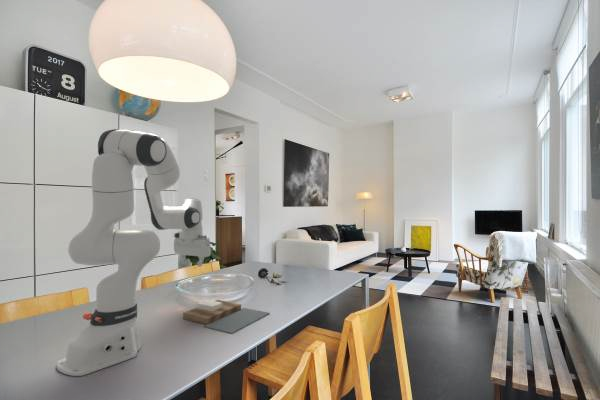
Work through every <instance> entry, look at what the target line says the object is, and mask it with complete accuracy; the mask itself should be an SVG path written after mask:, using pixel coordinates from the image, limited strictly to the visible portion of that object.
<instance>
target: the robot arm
mask: <svg viewBox="0 0 600 400" xmlns="http://www.w3.org/2000/svg"><path fill="white" fill-rule="evenodd" d="M97 154H98V155H97V156H96V157H95V158H94V161H93V165H92V173H91V174H92V175H91V192H92V213H91V217H90V219H89V222H88V223H87V225H86V226H85V227H84V228H83V229H81V231H80V232H78V233H77V234H75V235H74V236H73V237H72V238H71V240H70V242H69V244H68V250H67V252H68V255H69V258H70V259H71V260H72V261H73V262H74V264H76V265H84V266H85V265H86V266H104V265H105V266H106V265H107V266H108V265H118V268H117V271H116V272H113V273H111V274H110V275H108V276H106V277H105V278H102V279H101V280H100V281H99V282H98V284H97V285H96V302H95V303H96V306H95V307H96V309H95V310H94V312H93V313H90V312H84V314H83V315H82V319H83V320H86V321H89V324H88V325H87V326H86V327H85V328H84V329H82V331H80V332H79V333H78V334H77V335H76V336H75V337H74V338H73V339H72V340H71V341H69V343H68V345H67V350H66V355H65V357H63V358H61V359H59V360H57V363H56V370H57V371H58V372H61V373H62V374H64V375H67V376H71V377H72V376H73V377H79V376H80V377H82V376H86V375H88V374H92V373H94V372H97V371H99V370H103V369H105V368H108V367H110V366H113V365H116V364H118V363H121V362H125V361H127V360H131V359H133V358H136V357H137V355H138V351H140V349H141V347H142V342H141V340H140V337H139V331H138V324H137V318H138V304H137V303H136V301H137V298H136V297H137V285H138V281H139V277H140V276H141V273H142V271H143V269H144V268H145V267H146V266H147V265H148V264H149V263H150V262H152V261H153V260H154V259H155V258H156V257H157V255H158V254H159V252H160V249H161V240H160V238H159V236H158V235H157V234H156V232H154V231H153V230H152V231H151V230H146V229H145V230H144V229H115V227H114V225H116V224H118V223H120V222H122V221H124V220H126V219H128V218H130V216H132V214H133V213H134V211H135V200H134V199H135V197H134V196H135V195H134V194H135V193H134V182H133V179H134V178H133V175H132V173H133V168H134V166H138V167H139V166H143V167H144V169H145V172H146V175H147V176H146V177H145V179H144V183H143V184H144V185H143V186H144V192H145V197H146V200H147V205H148V207H149V212H150V220H151V224H152V226H153V227H154V228H156V229H157V230H161V231H163V230H178V232H175V233H173V238H174V240H173V251H174V253H175V254H177V255H180V259H181V264H182V265H187V264H188V263H189V262H188V261H189V260H188V259H187V258H186V257H187V256H192V257H198V259H199V260H198V262H196V267H203V262H204V259H205V258H207V257H210V256H211V255H212V248H211V247H212V246H211V242H210V238H209V237H208V236H207V235H203V224H202V221H203V207H202V201H201V200H200V199H198V198H193V197H192V198H189V197H188V198H184V199H183V201H182V205H179V206H178V205H177V206H175V205H174V206H170V205H169V206H168V205H165V204H163V199H162V195H161V194H162V193H161V192H163V191H165V190H167V189H168V190H169V189H170V188H171V187H173V186H175V184H176V183H177V182H178V180H179V178H180V173H181V171H180V167H179V165H178V162H177V160H176V157H175V155H174V152H173V151H172V150H171V148H170V146H169V144H168V142H166V140H165V139H164V138H162V137H160V136H159V135H156V134H155V133H151V132H147V133H146V132H143V131H137V130H132V129H118V128H116V129H115V128H114V129H113V128H112V129H108V130H105V131H104V132H102V133H101V135H100V136H99V139H98V142H97ZM179 230H180V231H179Z"/></svg>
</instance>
